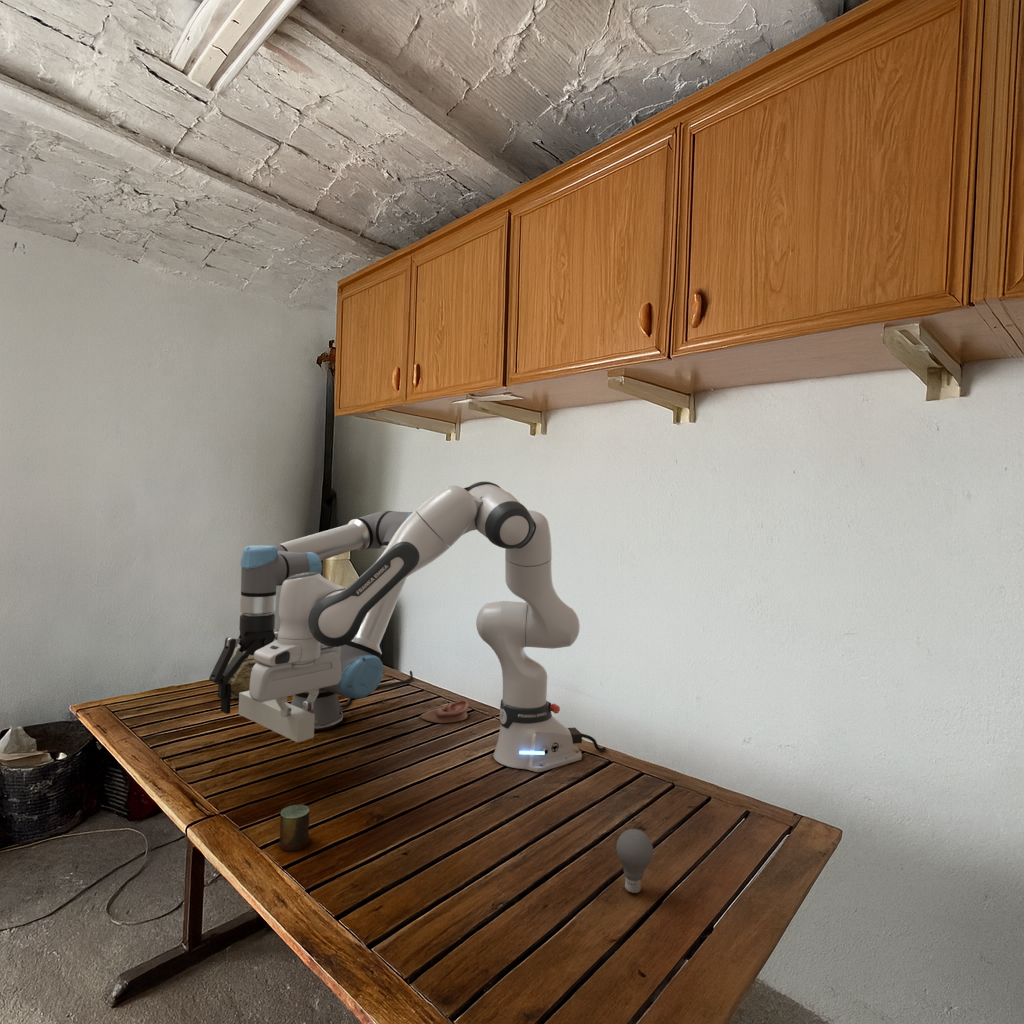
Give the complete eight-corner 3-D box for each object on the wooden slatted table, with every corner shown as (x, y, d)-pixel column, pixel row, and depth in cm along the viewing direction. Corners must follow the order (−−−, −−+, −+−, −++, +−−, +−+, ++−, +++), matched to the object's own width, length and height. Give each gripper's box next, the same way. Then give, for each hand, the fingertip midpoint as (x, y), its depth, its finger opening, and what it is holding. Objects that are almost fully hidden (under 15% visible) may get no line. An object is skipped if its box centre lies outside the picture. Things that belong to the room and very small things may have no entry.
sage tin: (298, 833, 119) (299, 801, 119) (313, 843, 116) (315, 810, 116) (273, 843, 115) (275, 811, 115) (289, 854, 112) (290, 820, 112)
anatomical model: (416, 706, 181) (429, 695, 192) (416, 720, 181) (429, 708, 192) (461, 711, 178) (471, 699, 190) (460, 725, 178) (471, 712, 190)
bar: (254, 710, 149) (255, 689, 149) (313, 737, 134) (314, 714, 134) (238, 714, 146) (239, 692, 146) (297, 742, 131) (298, 718, 131)
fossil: (218, 695, 195) (220, 647, 195) (278, 685, 208) (279, 640, 207) (228, 703, 189) (230, 653, 188) (289, 692, 201) (290, 645, 201)
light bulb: (610, 879, 108) (613, 822, 108) (644, 879, 109) (647, 822, 109) (619, 902, 102) (622, 840, 102) (655, 901, 103) (658, 840, 103)
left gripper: (296, 605, 157) (293, 690, 158) (194, 617, 138) (191, 714, 138) (314, 609, 152) (311, 697, 153) (211, 622, 133) (207, 722, 133)
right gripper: (331, 638, 145) (329, 699, 145) (246, 653, 129) (244, 721, 129) (348, 643, 141) (346, 705, 141) (263, 659, 125) (260, 729, 125)
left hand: (254, 705), depth 145 cm, fingers open, 13 cm apart
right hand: (296, 713), depth 135 cm, fingers closed on bar, 4 cm apart
